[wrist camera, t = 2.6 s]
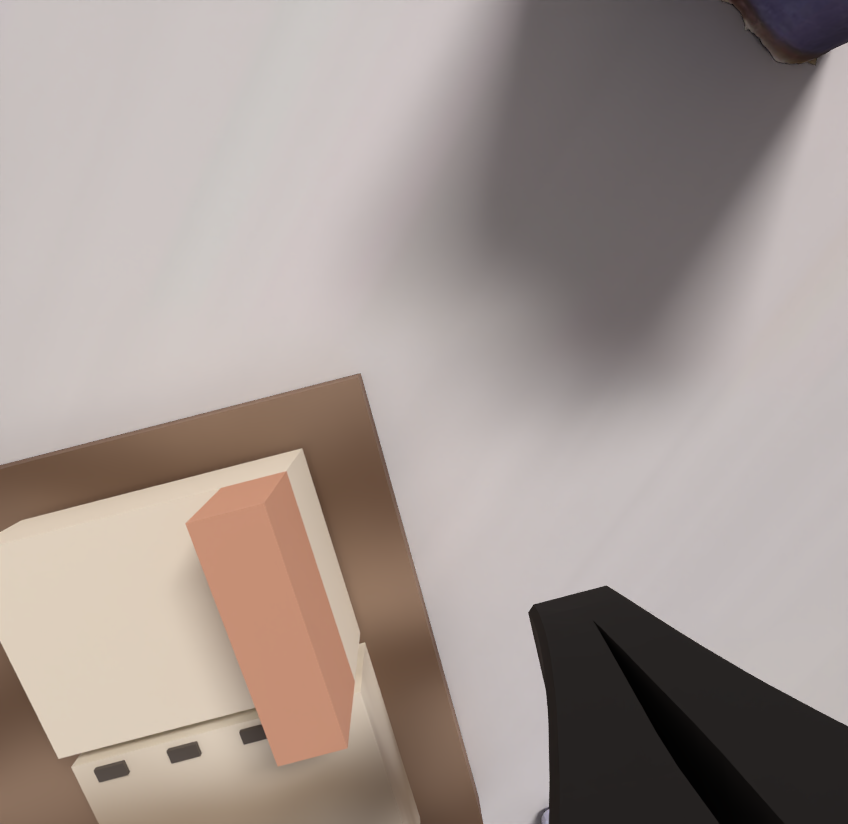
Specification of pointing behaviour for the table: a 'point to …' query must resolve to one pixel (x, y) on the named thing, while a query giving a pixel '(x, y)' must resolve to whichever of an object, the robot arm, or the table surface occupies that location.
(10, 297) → the table surface
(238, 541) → the cream block with bar
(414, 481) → the table surface
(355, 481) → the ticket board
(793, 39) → the flask
